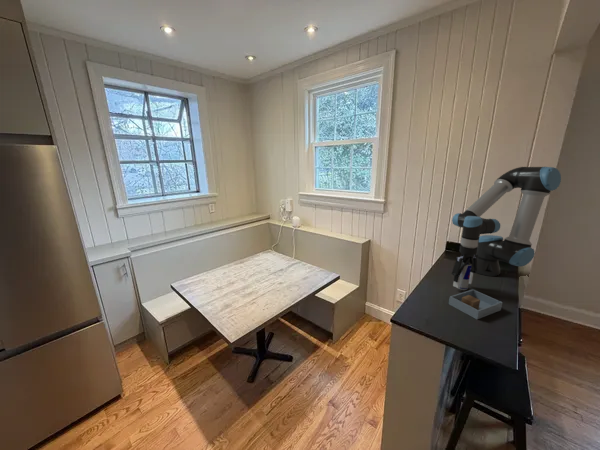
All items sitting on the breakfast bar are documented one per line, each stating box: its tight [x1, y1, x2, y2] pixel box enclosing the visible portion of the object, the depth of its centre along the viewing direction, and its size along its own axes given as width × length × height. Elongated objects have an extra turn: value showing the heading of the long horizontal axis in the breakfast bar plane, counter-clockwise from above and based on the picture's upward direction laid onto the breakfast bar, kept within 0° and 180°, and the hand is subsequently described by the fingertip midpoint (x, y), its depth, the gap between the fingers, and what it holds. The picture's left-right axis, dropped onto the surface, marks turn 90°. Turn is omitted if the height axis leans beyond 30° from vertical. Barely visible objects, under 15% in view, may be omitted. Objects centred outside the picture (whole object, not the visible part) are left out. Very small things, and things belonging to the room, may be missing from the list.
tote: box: [448, 288, 503, 320], centre depth 114 cm, size 17×13×4 cm
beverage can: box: [457, 262, 472, 291], centre depth 130 cm, size 5×5×15 cm
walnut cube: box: [461, 295, 480, 310], centre depth 112 cm, size 5×5×5 cm
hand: (462, 285), depth 131 cm, fingers open, 10 cm apart
